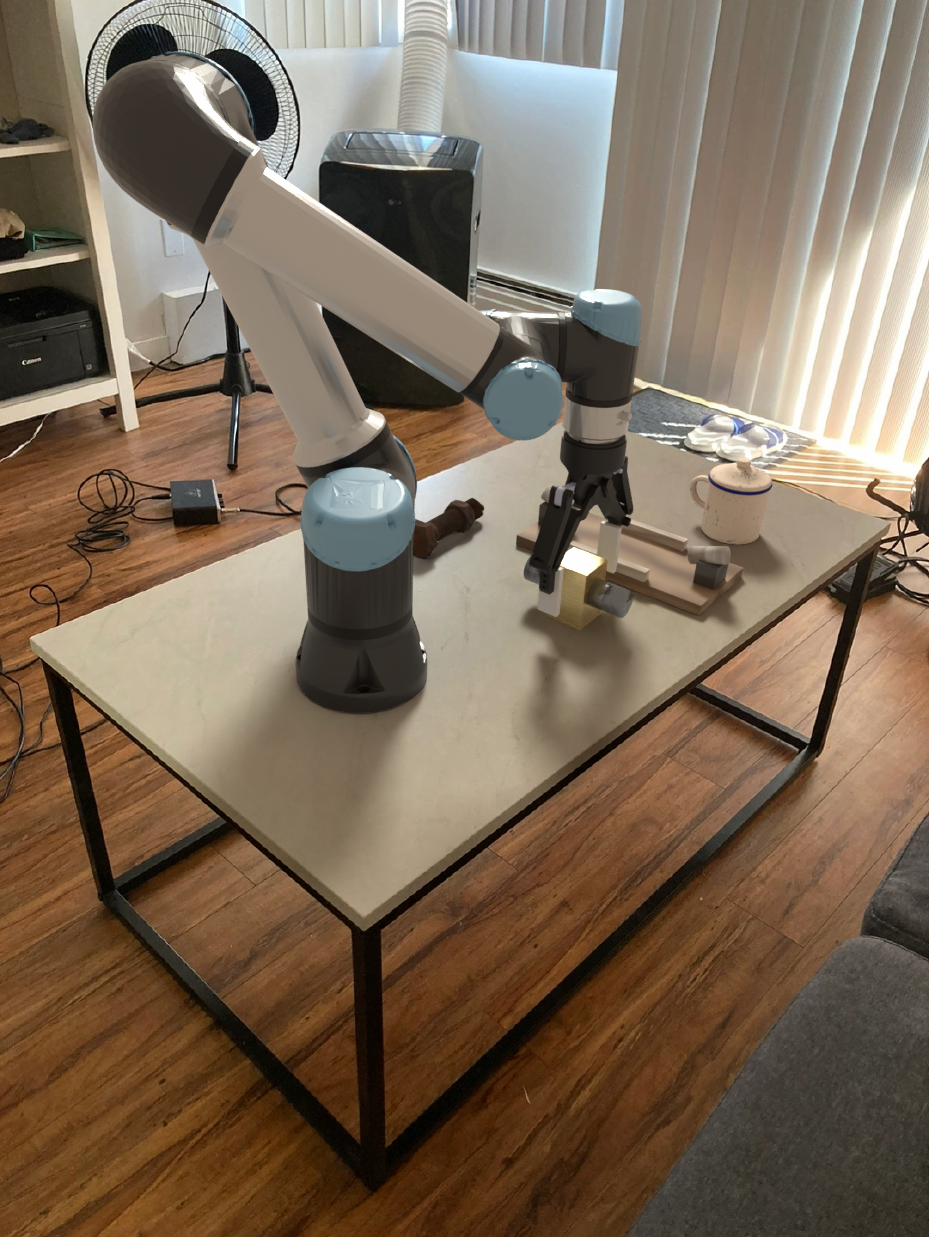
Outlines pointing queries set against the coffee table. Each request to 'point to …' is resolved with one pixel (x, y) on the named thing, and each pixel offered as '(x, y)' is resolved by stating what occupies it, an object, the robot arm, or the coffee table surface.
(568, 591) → the universal joint
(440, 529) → the bolt
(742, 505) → the teacup with lid
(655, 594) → the coupling cradle
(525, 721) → the coffee table surface
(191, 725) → the coffee table surface
